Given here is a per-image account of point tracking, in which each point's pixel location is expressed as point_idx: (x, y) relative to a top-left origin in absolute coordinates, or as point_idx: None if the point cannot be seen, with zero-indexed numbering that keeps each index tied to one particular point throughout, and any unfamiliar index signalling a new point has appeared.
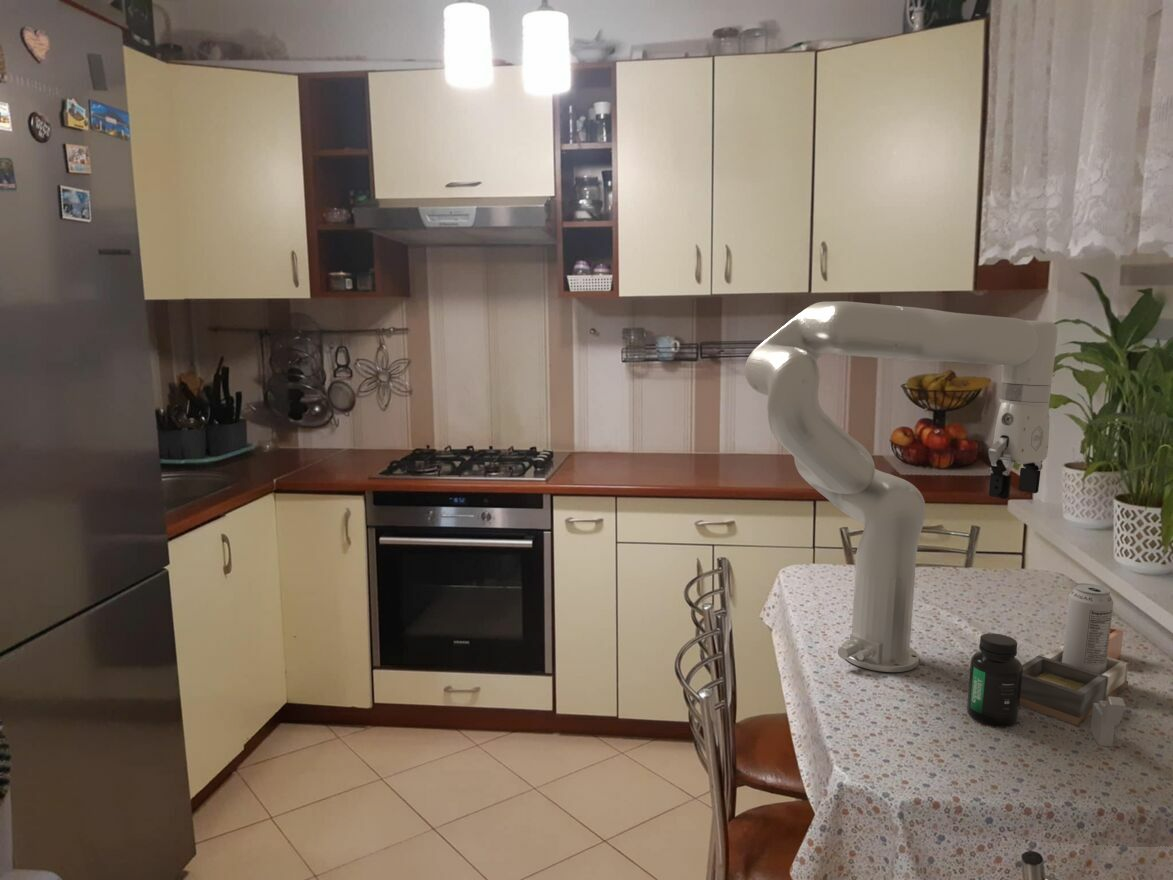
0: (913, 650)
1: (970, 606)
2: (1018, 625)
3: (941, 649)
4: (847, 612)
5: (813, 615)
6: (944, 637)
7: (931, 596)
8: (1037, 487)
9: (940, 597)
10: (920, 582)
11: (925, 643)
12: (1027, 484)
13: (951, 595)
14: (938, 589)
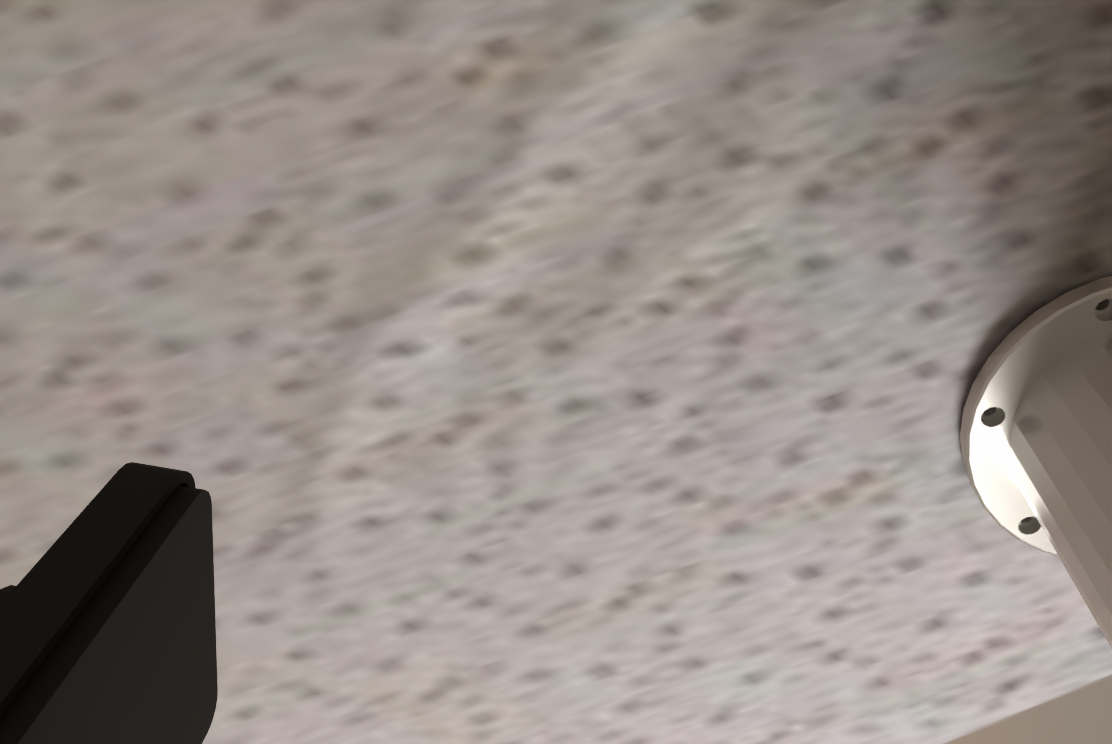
0: (1036, 336)
1: (179, 378)
2: (229, 126)
3: (838, 271)
4: (686, 677)
5: (817, 740)
6: (675, 316)
7: None
8: (137, 524)
9: None
10: None
11: (813, 346)
12: (164, 696)
13: None
14: None
